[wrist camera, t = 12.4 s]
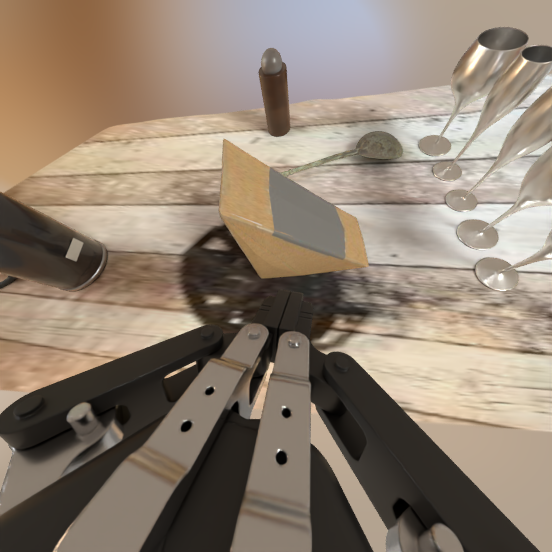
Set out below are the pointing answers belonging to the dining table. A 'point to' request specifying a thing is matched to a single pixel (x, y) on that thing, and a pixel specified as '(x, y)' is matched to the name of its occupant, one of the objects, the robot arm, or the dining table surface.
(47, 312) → the dining table surface
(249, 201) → the sandwich container
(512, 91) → the goblet set
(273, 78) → the pepper mill
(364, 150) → the soupspoon
